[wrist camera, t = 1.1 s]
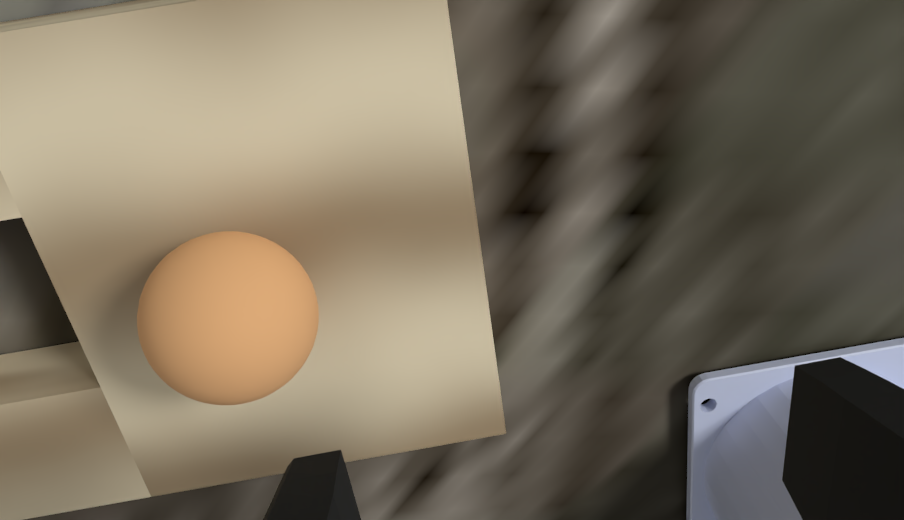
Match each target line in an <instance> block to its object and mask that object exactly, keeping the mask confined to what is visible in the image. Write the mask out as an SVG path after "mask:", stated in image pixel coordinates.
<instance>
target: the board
mask: <svg viewBox="0 0 904 520" xmlns="http://www.w3.org/2000/svg"><path fill="white" fill-rule="evenodd" d="M21 217H22V219H23V221H24V223H25V225H26V227H27V229H28V232H29V234H30V236H31V238H32V240H33V242H34V245H35V247H36V249H37V251H38V253H39V255H40V257H41V260H42V262H43V264H44V266H45V268H46V270H47V273H48V275H49V277H50V279H51V281H52V283H53V286H54V288H55V290H56V292H57V294H58V296H59V299H60V301H61V303H62V305H63V307H64V309H65V311H66V314H67V316H68V318H69V320H70V322H71V324H72V327H73V329H74V331H75V333H76V335H77V337H78V340H79V341H78V342H72V343H66V344H61V345H55V346H49V347H43V348H38V349H32V350H26V351H20V352H14V353H9V354H3V355H0V520H24V519H29V518H35V517H41V516H46V515H52V514H57V513H63V512H69V511H74V510H80V509H86V508H91V507H97V506H102V505H108V504H114V503H119V502H125V501H130V500H136V499H142V498H147V497H153V496H159V495H164V494H170V493H175V492H181V491H187V490H192V489H198V488H204V487H209V486H215V485H220V484H226V483H232V482H237V481H243V480H248V479H254V478H260V477H265V476H271V475H277V474H282V473H285V471H286V468H287V466H288V465H289V464H290V463H291V461H292V460H293V459H294V458H298V457H304V456H309V455H315V454H320V453H325V452H331V451H336V450H341V451H342V455H343V458H344V462H350V461H355V460H361V459H366V458H372V457H378V456H383V455H389V454H395V453H400V452H406V451H411V450H417V449H423V448H428V447H434V446H439V445H445V444H451V443H456V442H462V441H468V440H473V439H479V438H484V437H490V436H496V435H501V434H506V428H505V421H504V414H503V406H502V399H501V392H500V384H499V377H498V370H497V363H496V355H495V348H494V341H493V333H492V326H491V319H490V312H489V304H488V297H487V290H486V282H485V275H484V268H483V261H482V253H481V246H480V239H479V231H478V224H477V217H476V210H475V202H474V195H473V188H472V180H471V173H470V166H469V158H468V151H467V144H466V137H465V129H464V122H463V115H462V107H461V100H460V93H459V86H458V78H457V71H456V64H455V56H454V49H453V42H452V35H451V27H450V20H449V13H448V5H447V0H136V1H130V2H124V3H118V4H112V5H105V6H99V7H93V8H87V9H81V10H74V11H68V12H62V13H56V14H50V15H43V16H37V17H31V18H25V19H19V20H13V21H6V22H0V221H3V220H9V219H15V218H21ZM222 231H237V232H245V233H250V234H254V235H258V236H261V237H263V238H266V239H268V240H270V241H272V242H274V243H276V244H278V245H280V246H281V247H283V248H284V249H286V250H287V251H288V252H289V253H290V254H291V255H293V256H294V257H295V258H296V260H297V261H298V262H299V263H300V264H301V266H302V267H303V268H304V270H305V271H306V273H307V274H308V276H309V278H310V280H311V282H312V284H313V287H314V290H315V293H316V297H317V302H318V309H319V323H318V331H317V335H316V339H315V342H314V346H313V348H312V350H311V352H310V355H309V357H308V358H307V360H306V362H305V363H304V365H303V366H302V368H301V369H300V370H299V371H298V372H297V373H296V375H295V376H294V377H293V378H292V379H291V380H290V381H289V382H288V383H286V384H285V385H284V386H282V387H281V388H280V389H278V390H276V391H275V392H273V393H272V394H270V395H268V396H266V397H264V398H261V399H258V400H255V401H252V402H248V403H244V404H238V405H213V404H208V403H203V402H199V401H196V400H193V399H191V398H188V397H186V396H184V395H182V394H180V393H178V392H177V391H175V390H174V389H172V388H171V387H170V386H168V385H167V384H166V383H165V382H164V381H163V380H162V379H161V378H160V377H159V376H158V375H157V374H156V372H155V371H154V370H153V369H152V367H151V366H150V364H149V363H148V361H147V359H146V357H145V355H144V352H143V350H142V347H141V344H140V341H139V336H138V329H137V312H138V306H139V299H140V296H141V293H142V290H143V288H144V286H145V283H146V282H147V280H148V278H149V276H150V274H151V273H152V272H153V270H154V269H155V268H156V266H157V265H158V264H159V262H160V261H161V260H162V259H163V258H164V257H165V256H166V255H167V254H169V253H170V252H171V251H173V250H174V249H176V248H177V247H178V246H180V245H181V244H183V243H185V242H187V241H189V240H191V239H194V238H196V237H199V236H202V235H205V234H209V233H214V232H222Z"/></svg>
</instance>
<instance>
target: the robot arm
mask: <svg viewBox="0 0 904 520" xmlns="http://www.w3.org/2000/svg"><path fill="white" fill-rule="evenodd" d="M706 399H710V400H709V401H708V402H707V403H705V404H701V403H702V402H703V401H704V400H706ZM263 520H361V518H360V515H359V511H358V508H357V504H356V501H355V497H354V494H353V490H352V486H351V483H350V479H349V476H348V472H347V469H346V465H345V462H344V458H343V455H342V451H341V450H336V451H331V452H325V453H320V454H315V455H309V456H304V457H298V458H294V459H293V460H292V461H291V463H290V464H289V465H288V466H287V468H286V471H285V473H284V475H283V478H282V480H281V482H280V484H279V487H278V489H277V491H276V493H275V495H274V498H273V500H272V502H271V504H270V506H269V509H268V511H267V513H266V515H265V517H264V519H263ZM686 520H904V338H899V339H893V340H888V341H882V342H876V343H871V344H865V345H859V346H854V347H848V348H842V349H837V350H831V351H826V352H820V353H814V354H809V355H803V356H797V357H792V358H786V359H780V360H775V361H769V362H763V363H758V364H752V365H746V366H741V367H735V368H730V369H724V370H718V371H713V372H707V373H703V374H700V375H698V376H696V377H695V378H694V379H693V380H692V381H691V383H690V385H689V392H688V452H687V512H686Z"/></svg>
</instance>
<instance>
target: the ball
mask: <svg viewBox="0 0 904 520" xmlns="http://www.w3.org/2000/svg"><path fill="white" fill-rule="evenodd" d="M318 323H319V309H318V302H317V297H316V293H315V290H314V287H313V284H312V282H311V280H310V278H309V276H308V274H307V273H306V271H305V270H304V268H303V267H302V266H301V264H300V263H299V262H298V261H297V260H296V258H295V257H294V256H293V255H291V254H290V253H289V252H288V251H287V250H286V249H284V248H283V247H281V246H280V245H278V244H276V243H274V242H272V241H270V240H268V239H266V238H263V237H261V236H258V235H254V234H250V233H245V232H237V231H222V232H214V233H209V234H205V235H202V236H199V237H196V238H194V239H191V240H189V241H187V242H185V243H183V244H181V245H180V246H178V247H177V248H176V249H174V250H173V251H171V252H170V253H169V254H167V255H166V256H165V257H164V258H163V259H162V260H161V261H160V262H159V264H158V265H157V266H156V268H155V269H154V270H153V272H152V273H151V274H150V276H149V278H148V280H147V282H146V283H145V286H144V288H143V290H142V293H141V296H140V299H139V306H138V312H137V329H138V336H139V341H140V344H141V347H142V350H143V352H144V355H145V357H146V359H147V361H148V363H149V364H150V366H151V367H152V369H153V370H154V371H155V372H156V374H157V375H158V376H159V377H160V378H161V379H162V380H163V381H164V382H165V383H166V384H167V385H168V386H170V387H171V388H172V389H174V390H175V391H177V392H178V393H180V394H182V395H184V396H186V397H188V398H191V399H193V400H196V401H199V402H203V403H208V404H213V405H238V404H244V403H248V402H252V401H255V400H258V399H261V398H264V397H266V396H268V395H270V394H272V393H273V392H275V391H276V390H278V389H280V388H281V387H282V386H284V385H285V384H286V383H288V382H289V381H290V380H291V379H292V378H293V377H294V376H295V375H296V373H297V372H298V371H299V370H300V369H301V368H302V366H303V365H304V363H305V362H306V360H307V358H308V357H309V355H310V352H311V350H312V348H313V346H314V342H315V339H316V335H317V331H318Z"/></svg>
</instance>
